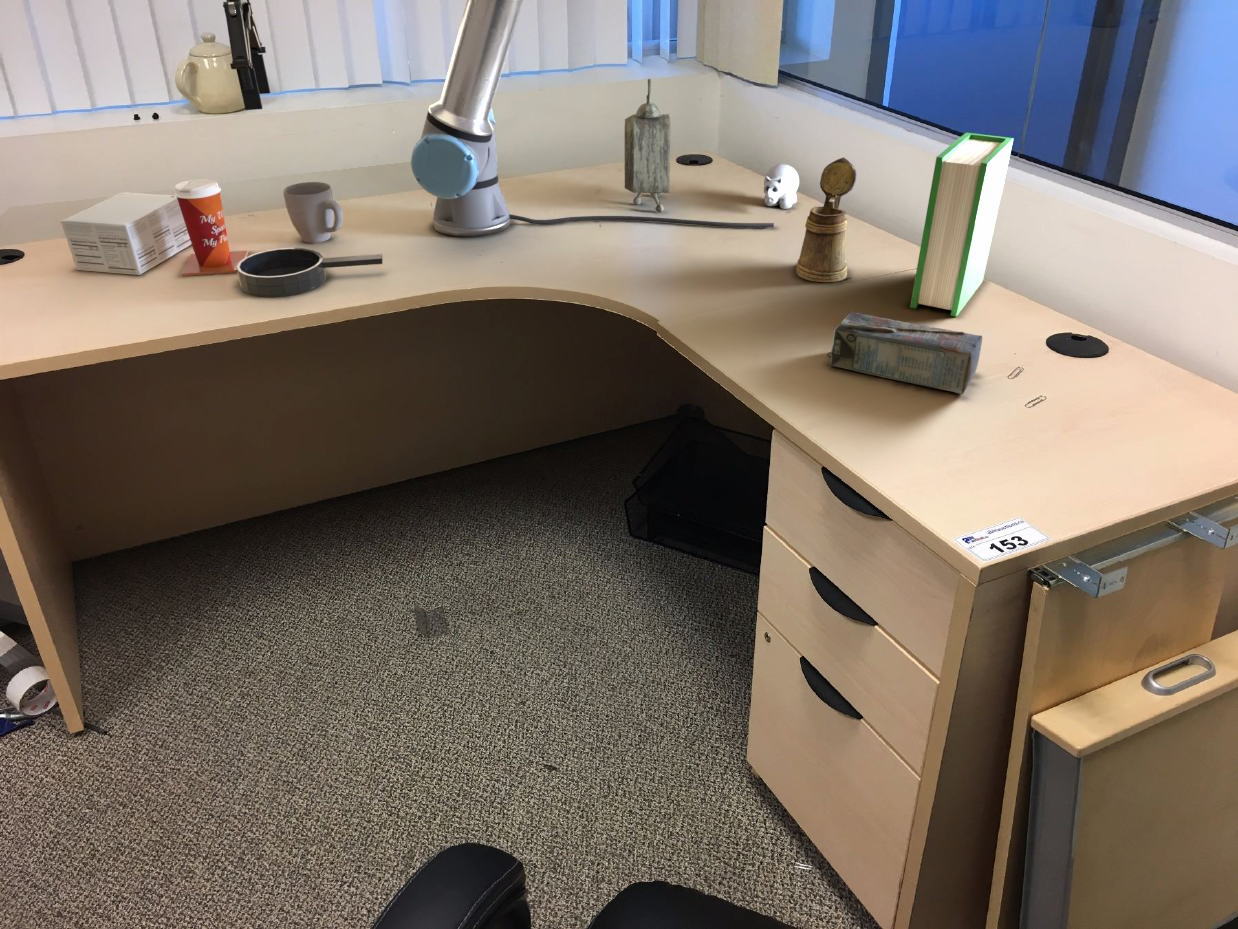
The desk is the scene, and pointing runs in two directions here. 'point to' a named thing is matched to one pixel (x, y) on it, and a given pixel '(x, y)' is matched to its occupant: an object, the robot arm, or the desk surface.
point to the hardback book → (960, 220)
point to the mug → (313, 210)
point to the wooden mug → (827, 228)
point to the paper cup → (204, 220)
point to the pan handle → (352, 261)
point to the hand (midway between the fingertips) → (258, 101)
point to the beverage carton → (906, 352)
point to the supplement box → (126, 233)
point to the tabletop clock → (647, 151)
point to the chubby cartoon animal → (781, 186)
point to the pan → (281, 272)
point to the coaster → (196, 269)
